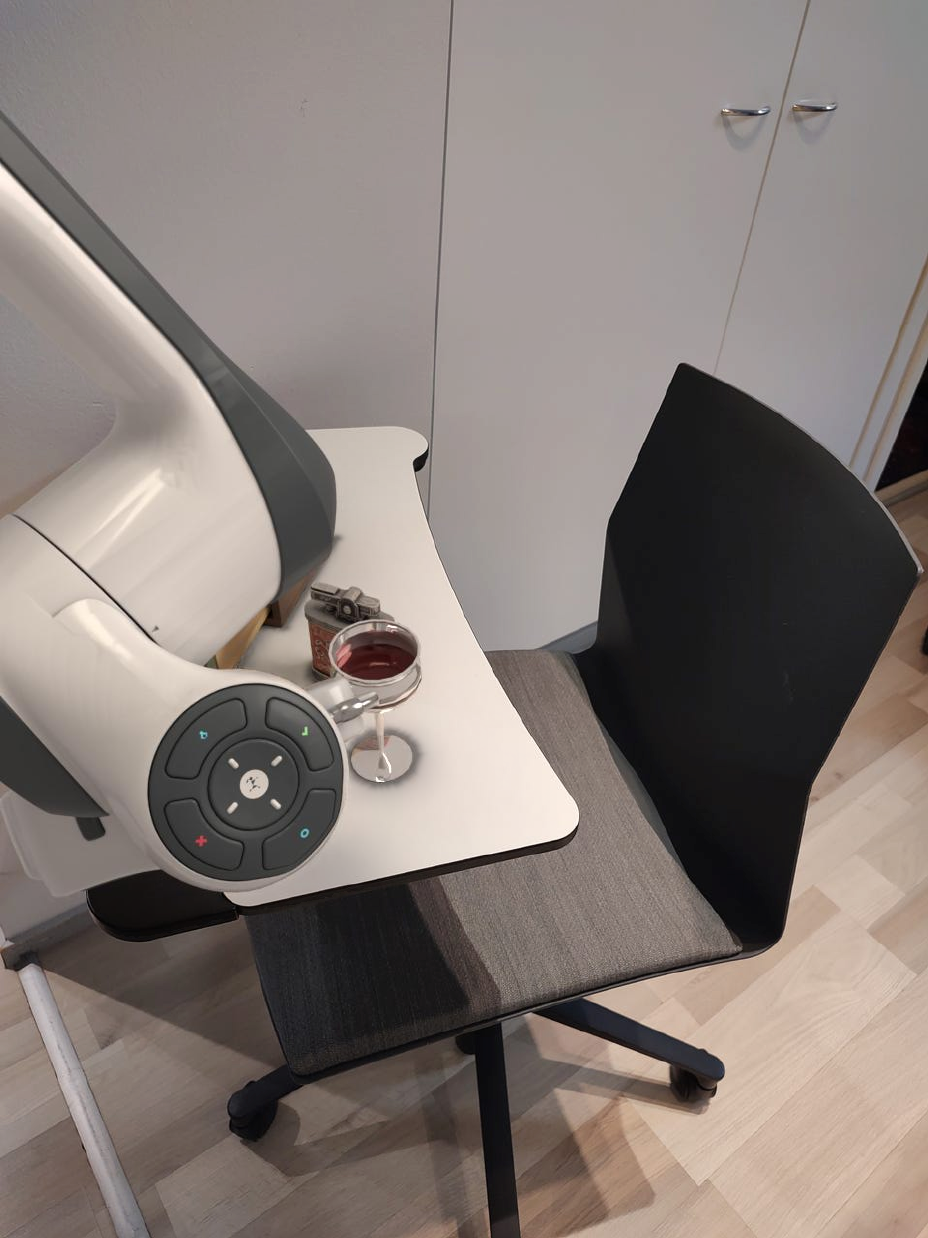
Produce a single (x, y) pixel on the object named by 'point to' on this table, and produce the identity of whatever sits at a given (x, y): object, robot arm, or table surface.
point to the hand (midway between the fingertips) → (183, 761)
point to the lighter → (335, 619)
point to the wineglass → (379, 687)
